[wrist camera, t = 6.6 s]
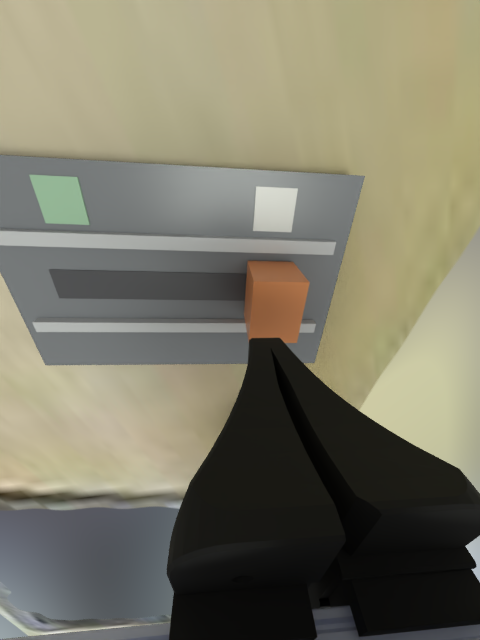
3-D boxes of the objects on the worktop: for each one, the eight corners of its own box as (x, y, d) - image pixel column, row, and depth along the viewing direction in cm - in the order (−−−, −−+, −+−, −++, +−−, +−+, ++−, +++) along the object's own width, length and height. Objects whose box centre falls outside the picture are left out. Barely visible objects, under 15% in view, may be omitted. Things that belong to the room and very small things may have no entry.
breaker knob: (284, 314, 18) (296, 342, 15) (243, 314, 18) (248, 343, 15) (292, 261, 16) (309, 282, 13) (247, 260, 16) (253, 281, 13)
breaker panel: (307, 348, 23) (316, 367, 21) (59, 349, 21) (40, 370, 19) (349, 175, 16) (370, 176, 13) (-24, 154, 14) (-71, 150, 12)
